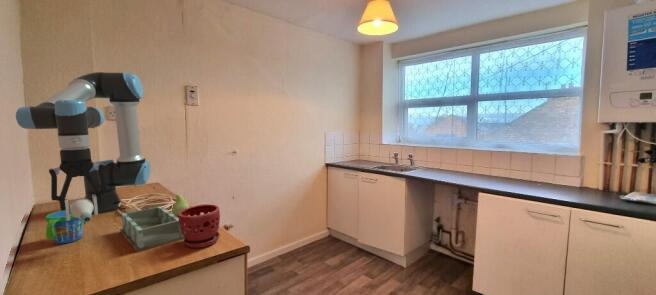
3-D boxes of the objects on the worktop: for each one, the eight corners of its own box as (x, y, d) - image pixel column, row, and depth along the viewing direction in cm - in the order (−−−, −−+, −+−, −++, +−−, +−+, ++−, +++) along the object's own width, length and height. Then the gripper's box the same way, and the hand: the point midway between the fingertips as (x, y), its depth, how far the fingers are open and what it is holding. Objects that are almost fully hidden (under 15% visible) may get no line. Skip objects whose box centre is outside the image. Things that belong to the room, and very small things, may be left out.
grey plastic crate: (120, 231, 112) (118, 214, 111) (163, 221, 123) (162, 205, 122) (137, 252, 94) (135, 231, 94) (185, 238, 105) (184, 219, 104)
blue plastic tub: (73, 231, 112) (70, 206, 111) (100, 231, 112) (98, 206, 111) (32, 250, 97) (29, 220, 96) (64, 249, 97) (61, 220, 96)
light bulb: (97, 207, 93) (88, 191, 99) (70, 216, 89) (63, 199, 95) (102, 222, 96) (93, 207, 102) (77, 232, 91) (70, 215, 98)
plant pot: (203, 232, 111) (202, 202, 109) (228, 239, 105) (227, 206, 103) (171, 246, 99) (169, 212, 98) (197, 254, 93) (195, 218, 92)
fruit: (191, 217, 128) (189, 190, 127) (172, 220, 124) (170, 193, 123) (188, 213, 134) (187, 187, 133) (170, 216, 130) (168, 189, 128)
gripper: (32, 152, 85) (42, 228, 88) (114, 146, 98) (120, 212, 101) (32, 150, 90) (41, 221, 93) (109, 144, 104) (115, 207, 107)
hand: (82, 216), depth 97 cm, fingers closed on light bulb, 6 cm apart
